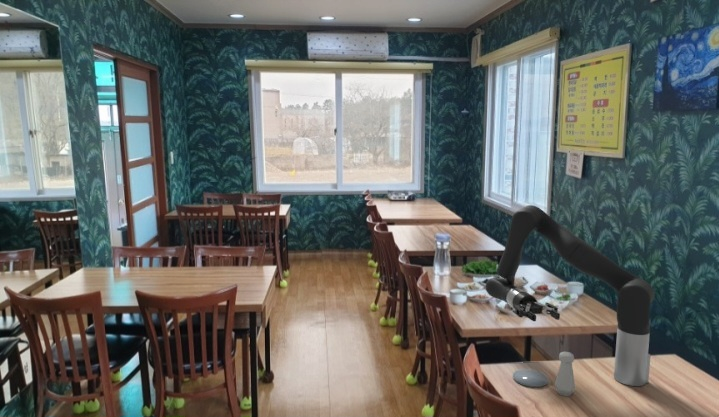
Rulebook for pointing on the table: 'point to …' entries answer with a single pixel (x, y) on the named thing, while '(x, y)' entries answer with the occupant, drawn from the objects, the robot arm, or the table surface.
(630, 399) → the table surface
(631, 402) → the table surface
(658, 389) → the table surface
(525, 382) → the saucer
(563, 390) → the salt shaker
